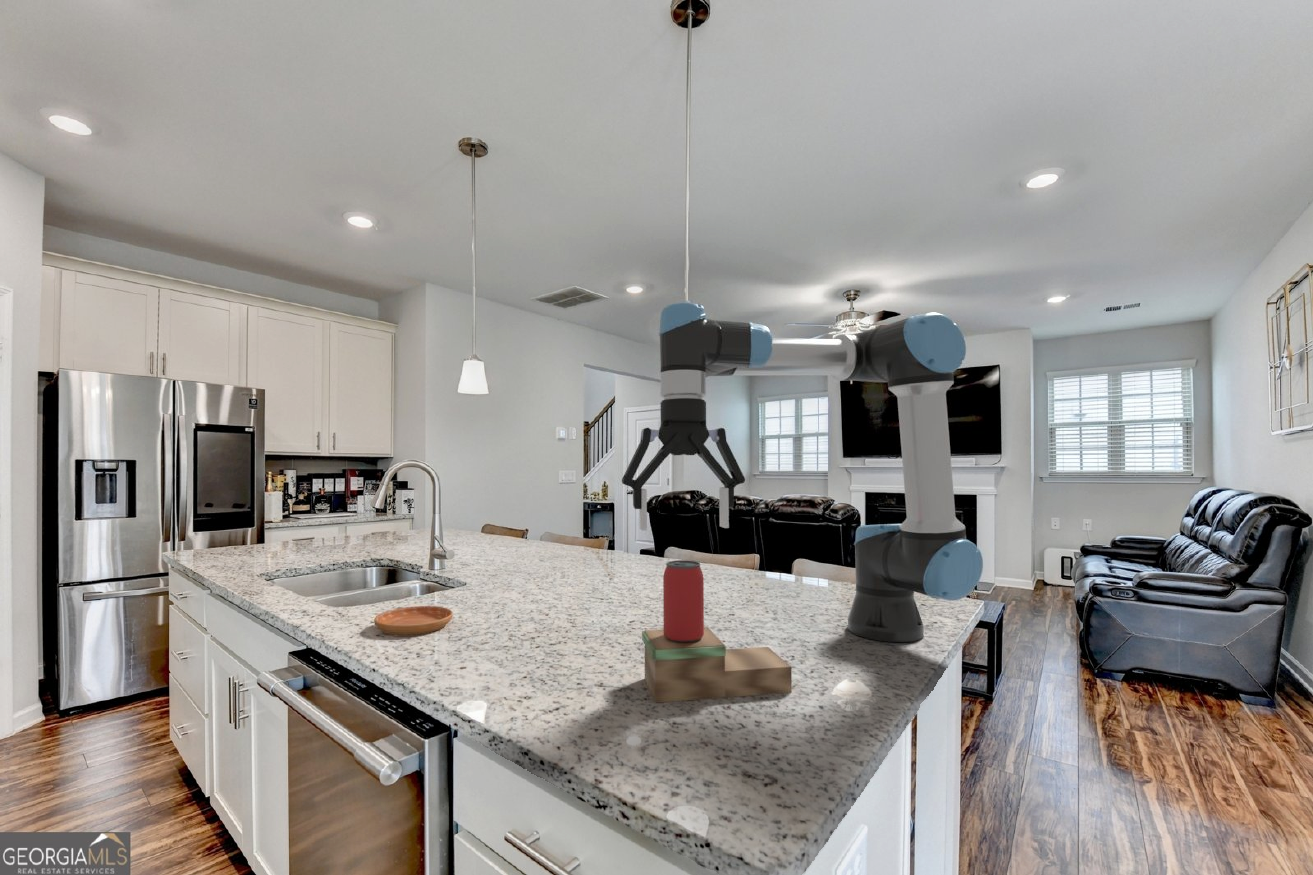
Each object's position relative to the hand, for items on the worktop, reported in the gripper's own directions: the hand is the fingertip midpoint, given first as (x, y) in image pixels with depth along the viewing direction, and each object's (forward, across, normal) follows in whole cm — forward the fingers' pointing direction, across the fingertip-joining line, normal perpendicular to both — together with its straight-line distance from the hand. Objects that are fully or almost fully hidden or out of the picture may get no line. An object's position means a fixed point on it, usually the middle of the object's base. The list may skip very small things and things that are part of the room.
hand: (684, 528), depth 96 cm
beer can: (+18, 0, 0) cm, 18 cm away
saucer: (+26, +51, -44) cm, 72 cm away
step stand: (+26, -5, 0) cm, 26 cm away
